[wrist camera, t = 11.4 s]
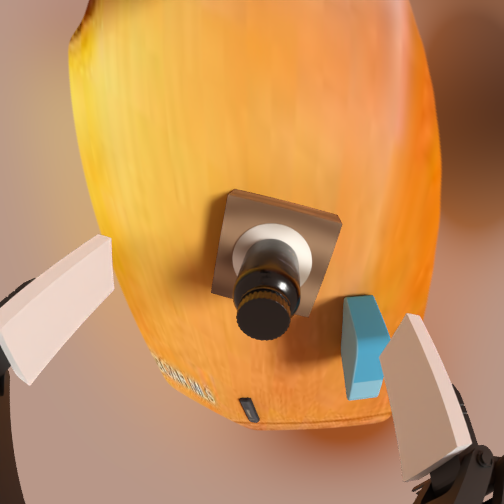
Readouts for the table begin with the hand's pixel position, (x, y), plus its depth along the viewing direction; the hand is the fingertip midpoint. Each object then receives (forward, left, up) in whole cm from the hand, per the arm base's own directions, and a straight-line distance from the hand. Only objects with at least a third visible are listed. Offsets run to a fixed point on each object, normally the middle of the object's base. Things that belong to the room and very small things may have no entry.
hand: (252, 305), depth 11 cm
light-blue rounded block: (+17, +17, -27) cm, 36 cm away
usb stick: (+47, +6, -27) cm, 55 cm away
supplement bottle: (+8, +1, -22) cm, 24 cm away
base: (+8, +1, -26) cm, 28 cm away
